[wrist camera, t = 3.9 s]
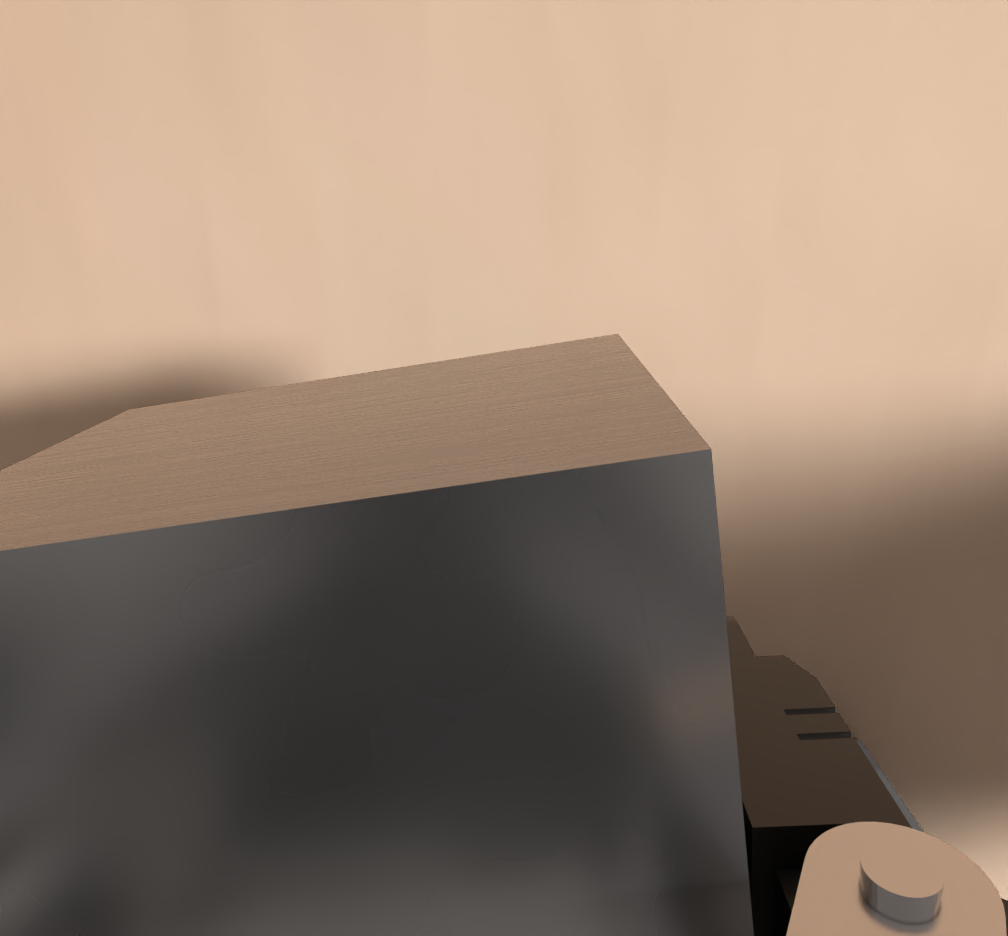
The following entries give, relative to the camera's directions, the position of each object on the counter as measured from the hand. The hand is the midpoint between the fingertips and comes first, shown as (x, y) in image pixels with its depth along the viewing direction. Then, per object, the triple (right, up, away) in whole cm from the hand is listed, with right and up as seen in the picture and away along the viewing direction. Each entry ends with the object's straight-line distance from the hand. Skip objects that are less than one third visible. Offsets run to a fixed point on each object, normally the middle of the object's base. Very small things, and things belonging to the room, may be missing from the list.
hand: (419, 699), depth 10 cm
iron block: (0, 0, +1) cm, 1 cm away
